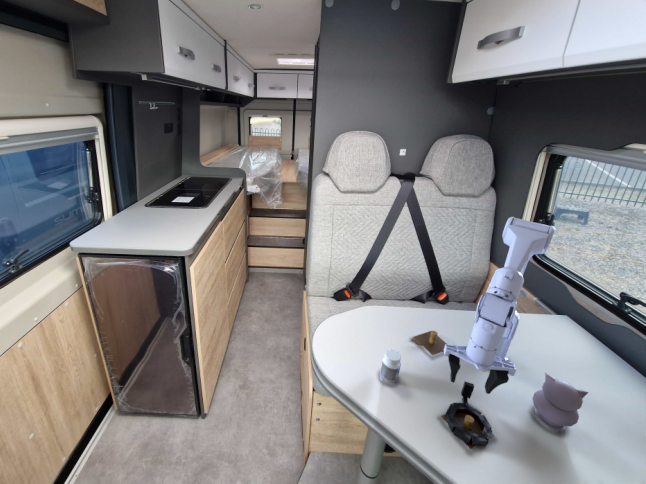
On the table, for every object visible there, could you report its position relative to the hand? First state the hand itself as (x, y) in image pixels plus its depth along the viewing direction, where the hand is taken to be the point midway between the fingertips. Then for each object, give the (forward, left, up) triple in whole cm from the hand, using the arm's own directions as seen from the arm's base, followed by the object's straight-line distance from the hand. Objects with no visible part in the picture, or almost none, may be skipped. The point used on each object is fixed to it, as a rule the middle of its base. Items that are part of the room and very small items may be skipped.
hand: (469, 384), depth 76 cm
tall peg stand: (-8, -18, -7) cm, 21 cm away
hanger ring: (+4, +4, -5) cm, 8 cm away
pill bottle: (+13, -13, -7) cm, 20 cm away
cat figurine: (-16, +11, -7) cm, 21 cm away
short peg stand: (+5, +5, -7) cm, 10 cm away
